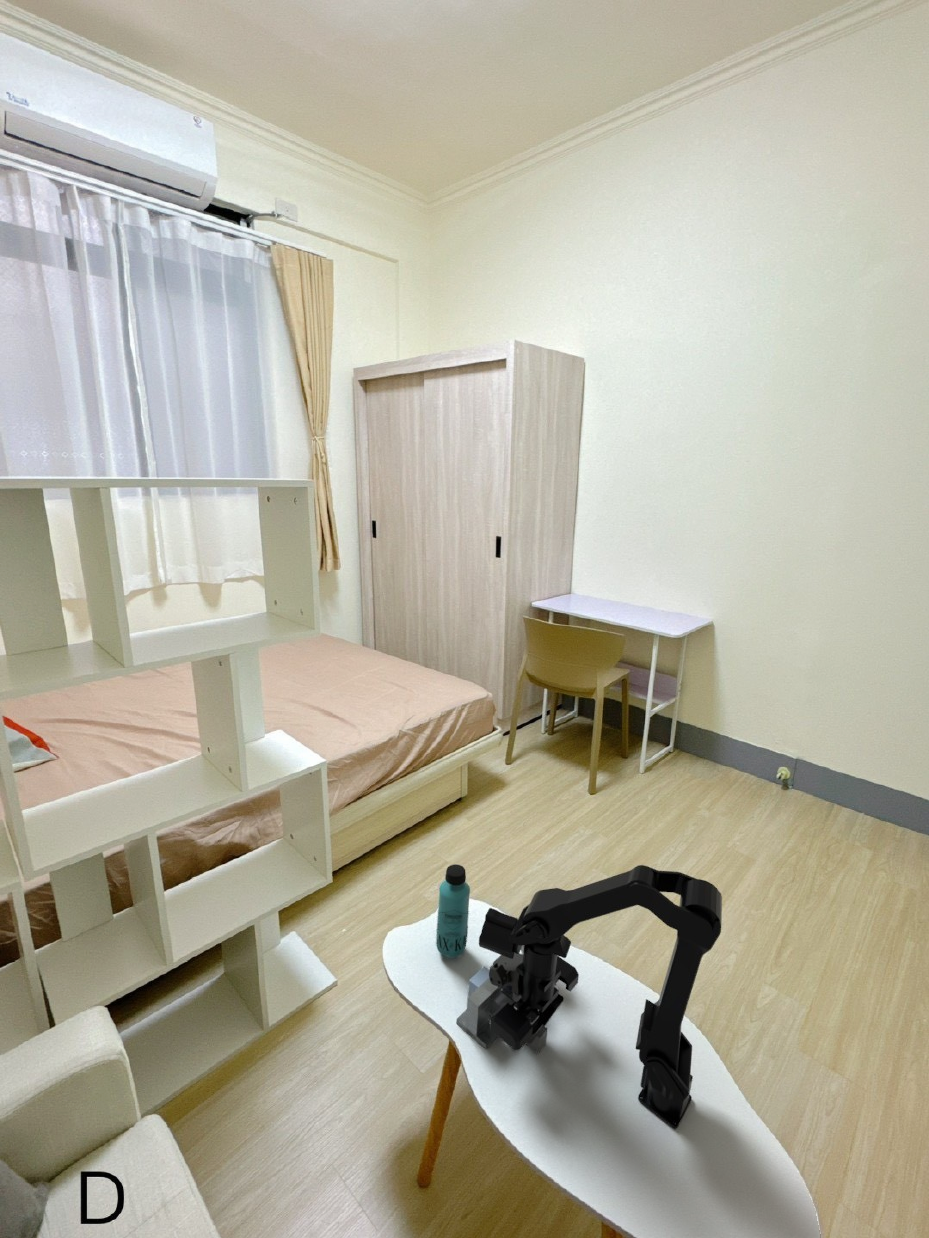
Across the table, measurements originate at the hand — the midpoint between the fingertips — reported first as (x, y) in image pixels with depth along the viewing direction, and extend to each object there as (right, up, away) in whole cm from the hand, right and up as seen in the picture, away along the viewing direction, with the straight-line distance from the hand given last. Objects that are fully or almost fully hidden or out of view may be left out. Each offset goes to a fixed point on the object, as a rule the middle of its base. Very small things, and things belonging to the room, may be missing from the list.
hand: (532, 1036), depth 102 cm
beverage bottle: (-15, +4, +18) cm, 24 cm away
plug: (-5, 0, +4) cm, 6 cm away
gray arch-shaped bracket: (-6, +1, +6) cm, 8 cm away
